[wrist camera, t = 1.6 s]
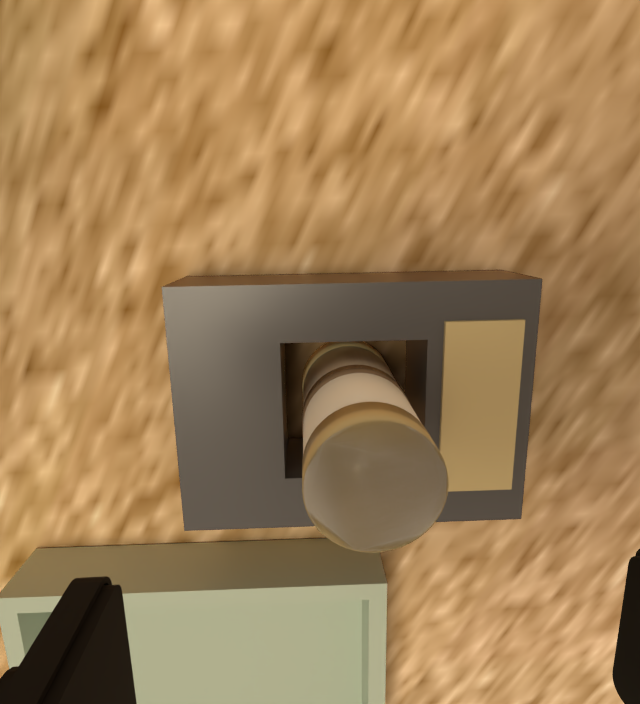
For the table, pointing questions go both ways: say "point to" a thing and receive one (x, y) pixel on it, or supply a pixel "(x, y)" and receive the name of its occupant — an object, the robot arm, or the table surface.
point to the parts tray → (226, 618)
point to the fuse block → (345, 326)
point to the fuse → (366, 453)
